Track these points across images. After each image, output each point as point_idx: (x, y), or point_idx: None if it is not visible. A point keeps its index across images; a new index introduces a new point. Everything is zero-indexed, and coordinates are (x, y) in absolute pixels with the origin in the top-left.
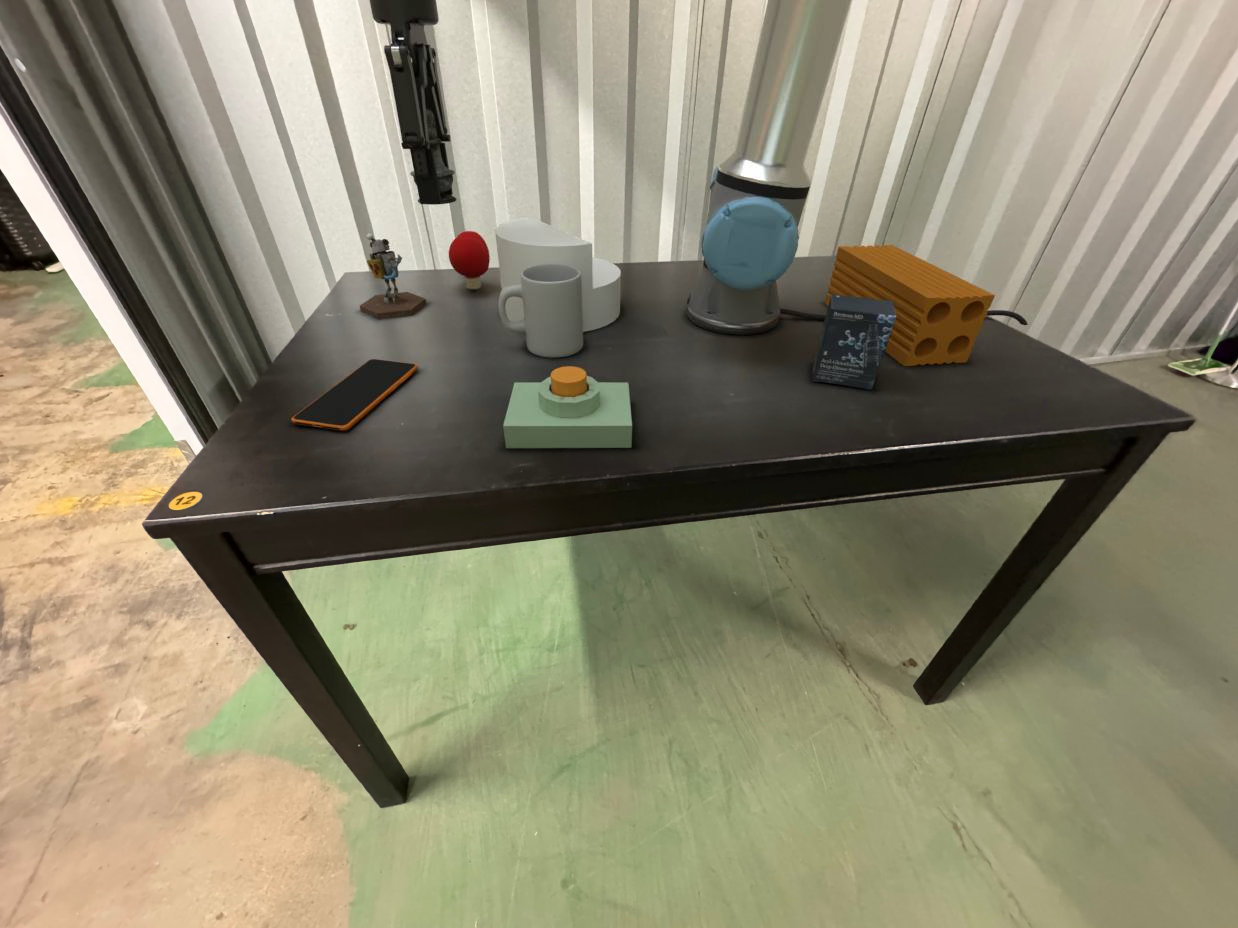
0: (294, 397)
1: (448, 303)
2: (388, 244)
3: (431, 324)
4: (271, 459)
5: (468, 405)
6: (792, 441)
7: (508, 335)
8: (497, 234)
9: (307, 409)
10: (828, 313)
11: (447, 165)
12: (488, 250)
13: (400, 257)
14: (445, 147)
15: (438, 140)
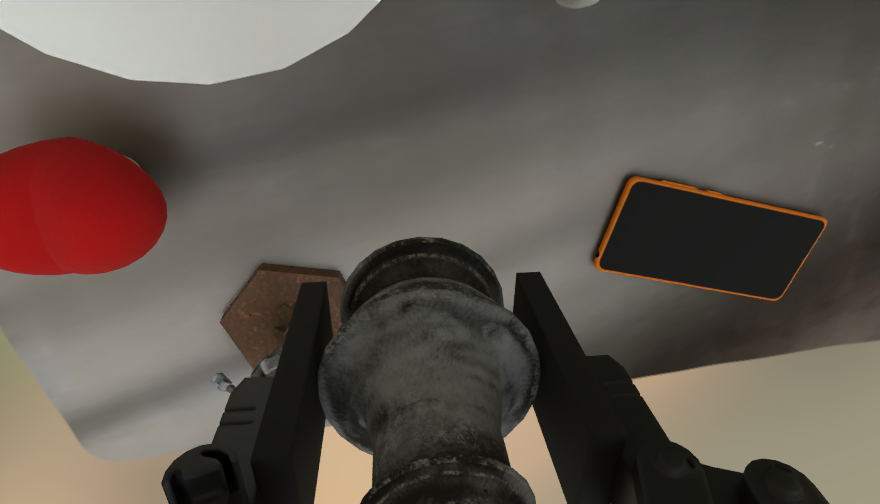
0: (686, 327)
1: (244, 214)
2: None
3: (389, 216)
4: (851, 282)
5: (791, 38)
6: None
7: (451, 7)
8: (298, 56)
9: (758, 291)
10: None
11: (301, 363)
12: (16, 150)
13: (268, 363)
14: (260, 437)
15: (481, 464)
